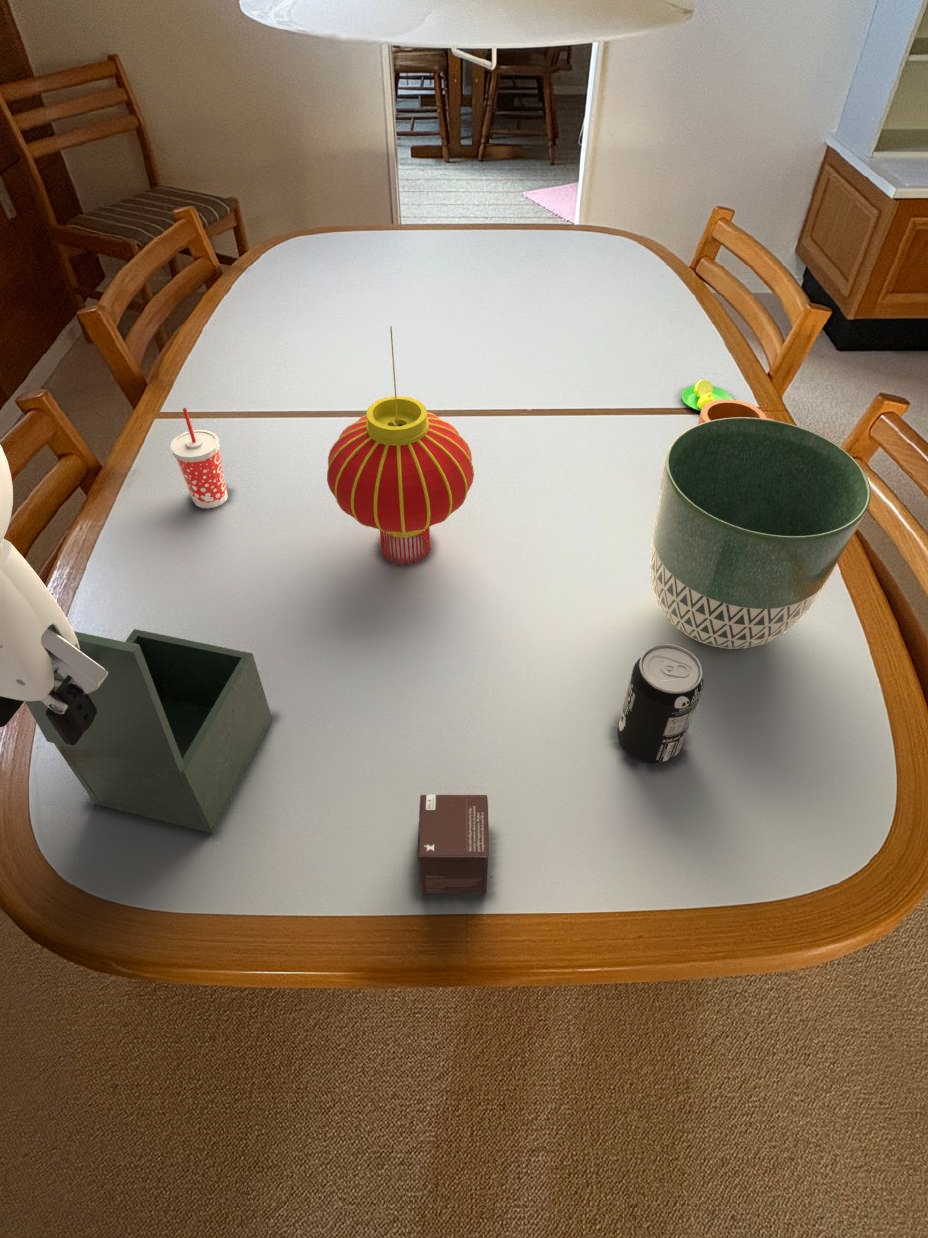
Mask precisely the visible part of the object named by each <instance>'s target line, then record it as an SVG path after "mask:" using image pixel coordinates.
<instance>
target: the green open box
mask: <svg viewBox="0 0 928 1238" xmlns="http://www.w3.org/2000/svg"><path fill="white" fill-rule="evenodd" d="M124 642H128V643H132V644H137V645H139V646H140V648H141V651H142V654H143V656H144V659H145V662H146V664H147V667H148V670H149V672H150V675H151V678H152V680H153V683H154V686H155V688H156V691H157V694H158V696H159V699H160V702H161V704H162V707H163V710H164V712H165V715H166V718H167V720H168V723H169V726H170V728H171V731H172V734H173V736H174V739H175V742H176V744H177V747H178V750H179V752H180V755H181V758H182V760H183V763H184V768H183V769H182V771H181V773H177V772H173V771H168V770H164V769H160V768H156V767H152V766H147V765H143V764H139V763H135V762H131V761H126V760H122V759H118V758H114V757H110V756H105V755H101V754H97V753H93V752H89V751H84V750H80V749H76V748H72V747H68V746H63V745H59V744H55V743H53V744H54V746H55V747H56V749H57V750H58V752H59V753H60V755H61V756H62V758H63V759H64V761H65V762H66V764H67V765H68V767H69V768H70V770H71V771H72V773H73V774H74V776H75V777H76V779H77V780H78V782H79V783H80V784H81V786H82V787H83V789H84V790H85V792H86V793H87V795H88V796H89V797H90V798H91V801H92V802H93V804H94V805H96V806H97V805H98V806H103V807H106V808H110V809H115V810H117V811H121V812H126V813H131V814H133V815H137V816H141V817H145V818H150V819H153V820H156V821H157V820H158V821H162V822H166V823H170V824H173V825H178V826H182V827H186V828H189V829H194V830H197V831H200V832H201V831H202V832H206V833H210V834H214V833H215V832H216V830H217V828H218V826H219V824H220V822H221V820H222V818H223V816H224V814H225V812H226V810H227V808H228V806H229V804H230V803H231V800H232V798H233V797H234V795H235V792H236V791H237V789H238V787H239V785H240V783H241V781H242V779H243V777H244V776H245V773H246V771H247V769H248V767H249V765H250V764H251V761H252V759H253V758H254V755H255V753H256V751H257V750H258V748H259V746H260V744H261V741H262V740H263V739H264V736H265V734H266V732H267V730H268V728H269V726H270V725H271V723H272V720H273V717H272V713H271V710H270V707H269V702H268V700H267V697H266V693H265V690H264V687H263V684H262V680H261V677H260V673H259V669H258V666H257V664H256V660H255V657H254V654H253V652H248V651H244V650H238V649H234V648H229V647H224V646H219V645H216V644H210V643H204V642H201V641H200V642H199V641H195V640H190V639H185V638H180V637H176V636H172V635H166V634H161V633H156V632H152V631H146V630H141V629H136V628H134V629H133V630H132V632H130V633H129V635H128V637H127V638H126V639H125V640H124Z"/></svg>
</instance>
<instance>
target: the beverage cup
mask: <svg viewBox="0 0 928 1238" xmlns="http://www.w3.org/2000/svg"><path fill="white" fill-rule="evenodd" d="M182 412H183V415H184V419H185V422H186V425H187V429H188V430H187V431H185V432H182V433H180V434H179V435H177V436H175V437H174V438H173V439H172V441H171V443H170V451H171V452H172V453H171V454H172V456H173V457H174V458H175V459H176V462H177V464H178V466H179V468H180V471H181V474H182V476H183V479H184V481H185V484H186V487H187V488H188V491H189V494H190V496H191V499H192V501H193V503H194V505H195V506H197V507H199V508H201V509H214V508H217V507H219V506H221V505H223V504H224V503H225V502H226V501H227V499H228V490H227V485H226V479H225V475H224V469H223V465H222V459H221V454H220V448H221V446H220V439H219V436H218V435H217V434H216V433H215V432H212V431H210V430H208V429H207V430H206V429H194V428H193V425H192V423H191V419H190V416H189V415H190V414H189V412H188V409H187V408H186V407H184V408H182ZM193 429H194V430H193Z"/></svg>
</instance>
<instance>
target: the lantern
mask: <svg viewBox="0 0 928 1238" xmlns="http://www.w3.org/2000/svg"><path fill="white" fill-rule="evenodd" d="M389 329H390V342H391V357H392V371H393V373H392V374H393V388H394V396H388V397H384V398H381V399H378V400H376V401H375V402H372V404H371V405H370V406H369V407H368V408H367V410H366V414H365V415H363V416H360V418H359V419H357V421H355V422H354V423H352V424H350V425H348V426H347V427H345V429H343V430H342V431H341V434H339V437H338V439H337V440H336V441H335V442H334V443H333V445H332V447H331V448H330V450H329V453H328V456H327V466H328V467H327V470H326V482H327V486H328V489H329V491H330V492H331V493H332V495H333V496H334V498H335V500H336V501H335V502H336V504H337V505H338V506H339V508H340V509H341V511H343V512H344V513H345V514H346V515H349V516H351V517H352V518H354V520H356V521H357V522H358V523H359V524H360V525H362V526H364V527H367V528H373V529H377V530H379V535H380V536H379V537H380V538H379V539H380V547H381V552H382V554H383V557H386V559H388V560H389V561H390V562H391V561H392V563H395V562H396V564H397V565H398V564H399V563H400V565H402V564H403V562H404V565H407V562H408V564H409V565H411V564H416V562H417V563H418V562H419V561H423V559H425V558H426V557H427V556H428V554H429V553H430V551H431V530H430V528H431V527H432V526H435V525H437V524H442V523H443V522H445V521H446V520H447V519H448V518H449V517H450V515H452V514H453V513H454V512H455V511H457V510H459V509H460V508H461V507H462V506H463V504H464V503H465V501H466V498H467V495H468V492H469V490H471V487H472V485H473V483H474V478H475V470H474V465H473V457H472V456H473V455H472V450H471V449H470V446H469V444H468V443H467V442H466V440H465V439H464V438H463V437H462V436H461V435H460V433H459V431H458V430H457V428H456V427H455V426H454V425H453V424H451V423H450V422H448V421H446V420H443V419H441V418H440V417H439V416H437V415H436V414H435V413H432V412H428V410H427V408H426V406H425V404H423V402H421V401H420V400H418V399H415V398H412V397H407V396H401V395H398V396H397V386H396V372H395V358H394V357H395V356H394V341H393V327H392V325H390V327H389ZM393 538H394V539H393ZM397 538H398V539H397ZM401 538H402V539H401ZM410 538H411V539H410ZM397 540H398V542H397ZM410 540H411V544H410ZM418 540H419V541H418ZM418 542H419V543H418ZM397 543H398V544H397ZM406 544H407V547H406ZM402 547H403V551H402ZM390 548H391V549H390ZM394 551H395V553H394ZM398 552H399V557H398ZM402 552H403V553H402ZM411 554H412V558H411ZM415 555H416V556H415ZM419 555H420V556H419ZM407 557H408V561H407ZM419 558H420V559H419ZM391 559H392V560H391ZM411 560H412V561H411Z"/></svg>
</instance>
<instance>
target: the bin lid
mask: <svg viewBox="0 0 928 1238" xmlns="http://www.w3.org/2000/svg"><path fill="white" fill-rule="evenodd" d="M73 631H74V633H75V635H76V637H77V640H78V643H79V647H80V651H81V652H82V653H84V654H85V655H86V656H88V657H89V658H90V659H92V660H93V661H95V662H96V663H97V664H99V665H100V666H101V667H103V668H104V669H105V670H106V671H107V672H108V676H107V677H106V679H105V680H104V681H103V683H102V684H101V686H100V687H99V688H98V690H95V691H93V692H91V693H89V694H88V695H89V697H90V699H91V700H92V702H93V704H94V705H95V707H96V709H97V713H96V715H95V718H94V721H93V723H92V724H91V726H90V727H89V728H88V729H87V730H86V731H84V733H83V734H82V736H81V737H80V739H79V740H78V742H77V743H76V744H75V745H69V744H66V743H65V742H64V741H63V739H62V738H61V736H60V735H59V733H58V732H57V730H56V729H55V728H54V726H53V725H52V723H51V722H50V720H49V719H48V717H47V716H46V710H47V709H48V707H47V706H46V705H45V704H44V703H43V702H42V701H41V700H38V701H24V703H25V705H26V706H27V708H28V710H29V712H30V713H31V715H32V717H33V719H34V720H35V723H36V724H37V726H38V728H39V729H40V732H41V733H42V735H43V737H44V738H45V740H46V742H47V743H51V744H54V743H55V744H59V745H63V746H68V747H72V748H76V749H80V750H84V751H89V752H93V753H97V754H101V755H105V756H110V757H114V758H118V759H122V760H126V761H131V762H135V763H139V764H143V765H147V766H152V767H156V768H160V769H164V770H168V771H173V772H177V773H181V771H182V769H183V768H184V763H183V760H182V758H181V755H180V752H179V750H178V747H177V744H176V742H175V739H174V736H173V734H172V731H171V728H170V726H169V723H168V720H167V718H166V715H165V712H164V710H163V707H162V704H161V702H160V699H159V696H158V694H157V691H156V688H155V686H154V683H153V680H152V678H151V675H150V672H149V670H148V667H147V664H146V662H145V659H144V656H143V654H142V651H141V648H140V646H139V645H137V644H132V643H128V642H125V641H122V640H118V639H114V638H108V637H104V636H99V635H94V634H90V633H85V632H79V631H76V630H73ZM64 680H65V679H64V678H63V677H62V676H61V675H60V674H59V673H58V672H56V673H55V675H54V688H53V690H54V691H56V690H57V689H58V687H59V686H60V685H61V683H62V682H63V681H64ZM55 744H54V745H55Z"/></svg>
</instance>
